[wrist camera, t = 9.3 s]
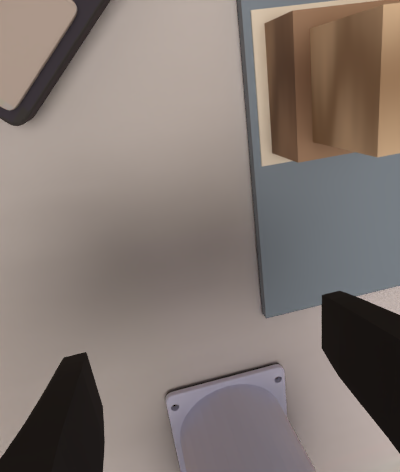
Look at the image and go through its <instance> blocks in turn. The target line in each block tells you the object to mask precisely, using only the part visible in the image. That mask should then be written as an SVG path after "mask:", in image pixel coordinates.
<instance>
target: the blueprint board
mask: <svg viewBox="0 0 400 472" xmlns="http://www.w3.org/2000/svg"><path fill="white" fill-rule="evenodd" d="M371 1H379V0H237V8H238V20H239V33H240V45H241V57H242V69H243V81H244V94H245V106H246V118H247V130H248V142H249V155H250V167H251V179H252V191H253V203H254V216H255V228H256V240H257V252H258V264H259V276H260V289H261V301H262V313H263V315H264V316H265V318H269V317H273V316H278V315H282V314H286V313H290V312H294V311H298V310H302V309H306V308H310V307H314V306H318V305H322V295H324V294H328V293H332V292H336V291H342V292H345V293H348V294H351V295H353V296H359V295H363V294H367V293H371V292H376V291H380V290H384V289H388V288H392V287H396V286H400V153H398V154H393V155H388V156H383V157H373V156H369V155H365V154H361V153H356V152H354V153H349V154H343V155H338V156H332V157H327V158H321V159H316V160H310V161H305V162H299V163H297V162H295V161H292V160H289V159H287V158H284V157H281V156H278V155H276V154H273V153H272V141H271V125H270V108H269V91H268V75H267V58H266V42H265V25H264V23H267V22H269V21H271V20H273V19H275V18H277V17H280V16H282V15H284V14H286V13H288V12H291V11H293V10H302V9H310V8H319V7H328V6H336V5H345V4H353V3H362V2H371Z"/></svg>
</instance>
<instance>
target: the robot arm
mask: <svg viewBox="0 0 400 472" xmlns="http://www.w3.org/2000/svg"><path fill="white" fill-rule="evenodd" d="M322 349H323V351H324V353H325V354H326V356H327V358H328V359H329V361H330V363H331V364H332V366H333V368H334V369H335V371H336V372H337V374H338V376H339V377H340V378H341V380H342V381H343V382H344V383H345V385H346V386H347V387H348V388H349V390H350V391H351V392H352V394H353V395H354V396H355V397H356V399H357V400H358V401H359V402H360V404H361V405H362V406H363V407H364V409H365V410H366V411H367V412H368V413H369V415H370V416H371V417H372V418H373V420H374V421H375V422H376V423H377V425H378V426H379V427H380V428H381V430H382V431H383V432H384V433H385V435H386V436H387V437H388V438H389V440H390V441H391V442H392V444H393V445H394V446H395V448H396V449H397V450H398V452H399V453H400V315H398V314H396V313H393V312H391V311H389V310H386V309H384V308H382V307H379V306H377V305H375V304H372V303H370V302H368V301H365V300H363V299H360V298H358V297H356V296H353V295H351V294H348V293H345V292H342V291H336V292H332V293H328V294H324V295H322ZM276 377H278V378H277V379H275V378H276ZM165 400H166V405H167V410H168V415H169V420H170V424H171V429H172V434H173V438H174V443H175V448H176V452H177V457H178V462H179V466H180V471H181V472H316V470H315V468H314V466H313V464H312V462H311V461H310V459H309V457H308V455H307V453H306V451H305V450H304V448H303V446H302V444H301V442H300V440H299V439H298V437H297V435H296V433H295V431H294V429H293V428H292V426H291V424H290V422H289V420H288V418H287V405H286V389H285V372H284V369H283V367H282V366H281V365H279V364H275V365H271V366H267V367H264V368H260V369H256V370H252V371H248V372H245V373H241V374H237V375H233V376H230V377H226V378H222V379H218V380H215V381H211V382H207V383H203V384H199V385H196V386H192V387H188V388H184V389H181V390H177V391H173V392H170V393H169V394H167V396H166V398H165ZM176 404H177V406H173V405H176ZM104 442H105V441H104V421H103V406H102V403H101V399H100V396H99V393H98V389H97V386H96V383H95V379H94V376H93V373H92V370H91V366H90V363H89V360H88V356H87V353H86V352H85V353H81V354H77V355H73V356H69V357H64V359H63V360H62V361H61V363H60V365H59V366H58V368H57V370H56V372H55V374H54V375H53V377H52V379H51V381H50V382H49V384H48V386H47V388H46V389H45V391H44V393H43V394H42V396H41V398H40V399H39V401H38V403H37V404H36V406H35V408H34V409H33V411H32V412H31V414H30V416H29V417H28V419H27V420H26V422H25V424H24V425H23V427H22V428H21V430H20V431H19V433H18V434H17V435H16V437H15V438H14V440H13V441H12V443H11V444H10V446H9V447H8V449H7V450H6V452H5V453H4V454H3V456H2V457H1V458H0V472H103V460H104Z"/></svg>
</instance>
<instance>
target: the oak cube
mask: <svg viewBox="0 0 400 472" xmlns="http://www.w3.org/2000/svg"><path fill="white" fill-rule="evenodd" d="M310 44H311V88H312V132H313V142H314V143H319V144H323V145H327V146H331V147H335V148H340V149H344V150H348V151H352V152H356V153H361V154H365V155H369V156H373V157H383V156H388V155H393V154H398V153H400V3H392V4H384V5H381V6H377V7H374V8H371V9H368V10H365V11H362V12H359V13H356V14H353V15H350V16H347V17H344V18H341V19H338V20H335V21H332V22H329V23H326V24H322V25H319V26H316V27H313V28H310Z"/></svg>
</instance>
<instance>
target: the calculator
mask: <svg viewBox="0 0 400 472" xmlns="http://www.w3.org/2000/svg"><path fill="white" fill-rule="evenodd" d="M109 1H110V0H0V118H1V119H2V120H4V121H5V122H7V123H9V124H11V125H14V126H19V125H22V124H24V123H26V122H27V121H29V120H30V119H32V118H33V117H34V116H35V114H36V113H37V111H38V110H39V108H40V107H41V105H42V104H43V102H44V101H45V99H46V98H47V96H48V95H49V93H50V92H51V90H52V89H53V87H54V86H55V84H56V82H57V81H58V79H59V78H60V76H61V75H62V73H63V72H64V70H65V69H66V67H67V66H68V64H69V63H70V61H71V60H72V58H73V56H74V55H75V53H76V52H77V50H78V49H79V47H80V46H81V44H82V43H83V41H84V40H85V38H86V37H87V35H88V33H89V32H90V30H91V29H92V27H93V26H94V24H95V23H96V21H97V20H98V18H99V17H100V15H101V14H102V12H103V11H104V9H105V7H106V6H107V4H108V3H109Z"/></svg>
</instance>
